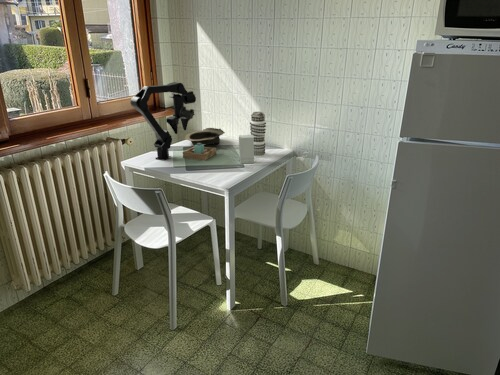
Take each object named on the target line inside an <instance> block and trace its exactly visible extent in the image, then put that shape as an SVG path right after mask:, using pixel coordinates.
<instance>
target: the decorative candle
mask: <svg viewBox="0 0 500 375" xmlns="http://www.w3.org/2000/svg"><path fill="white" fill-rule="evenodd" d="M250 117H251V118H250V119H251V120H250V121H249V125H250V126H249V127H250V132H249V134H250V135H253V136H254V158H263V157H265V156H266V141H265V140H266V139H265V137H266V130H267V129H266V127H267V125H266V124H267V122H266V118H265V117H266V114H264V112H263V111H253V112H252V113H251V114H250Z"/></svg>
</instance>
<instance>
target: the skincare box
mask: <svg viewBox="0 0 500 375" xmlns="http://www.w3.org/2000/svg"><path fill="white" fill-rule="evenodd" d="M238 149H239V150H238V151H239V164H255V157H254V136H253V135H251V134H240V135H238Z"/></svg>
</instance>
